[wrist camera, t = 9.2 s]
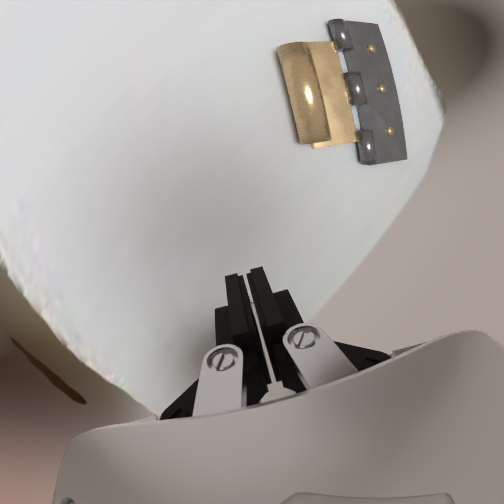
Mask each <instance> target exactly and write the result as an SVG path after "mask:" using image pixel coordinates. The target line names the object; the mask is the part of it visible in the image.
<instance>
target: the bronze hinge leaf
mask: <svg viewBox="0 0 504 504" xmlns="http://www.w3.org/2000/svg"><path fill="white" fill-rule="evenodd" d="M277 52H278V56H279V59H280V63H281V67H282V70H283V74H284V78H285V82H286V86H287V90H288V94H289V98H290V102H291V106H292V110H293V114H294V119H295V123H296V128H297V132H298V137H299V142H300V144H311V145H312V148H319V147H325V146H331V145H337V144H344V143H351V142H357V137H356V131H355V125H354V120H353V115H352V110H351V105H350V101H349V96H348V92H347V88H346V83H345V79H344V75H343V72H342V68H341V64H340V60H339V57H338V53H337V50H336V47H335V43H334V42H293V43H288V44H284V45H282V46H280V47H278V48H277Z"/></svg>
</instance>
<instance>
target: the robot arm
mask: <svg viewBox="0 0 504 504" xmlns="http://www.w3.org/2000/svg"><path fill="white" fill-rule="evenodd" d="M250 271H251V273H248V274H246V275H247V279H248V282H249V286H250V290H251V294H252V298H253V301H254V303H250V299H249V296H248V292H247V289H246V285H245V282H244V278H243V275H241V276H238V275H237V273H236V274H232V275H228V276H225V282H226V291H227V300H228V306H224V307H220V308H216V309H215V328H216V347H214V348H212V349H211V350H210V351H208V352H207V354H206V355H205V356H204V358H203V361H202V366H201V371H200V377H199V379H197V380H196V381H195V382H194V383H193V384H192V385H191V386H190V387H189V388H188V389H187V390H186V391H185V392H184V393H183V394H182V395H181V396H180V397H179V398H177V399H176V400H175V401H174V402H173V403H172V404H171V405H170V406H169V407H168V408H167V409H166V410H165V411H164V412H163V413H162V415H161V416H160V417H157V416H156V415H154V416H150V417H147V418H143V419H140V420H137V421H132V422H129V423H125V424H117V425H109V426H104V427H100V428H95V429H92V430H89V431H87V432H84V433H82V434H80V435H78V436H77V437H75V438H74V439H73V440H72V441H71V442H70V443H69V444H68V446H67V448H66V450H65V452H64V454H63V457H62V460H61V463H60V466H59V470H58V474H57V479H56V484H55V489H54V495H53V503H52V504H504V346H503V345H502V344H500V343H499V342H498V341H497V340H496V339H494V338H493V337H491V336H489V335H488V334H486V333H484V332H481V331H476V330H467V331H460V332H455V333H451V334H447V335H444V336H440V337H438V338H436V339H433V340H431V341H428V342H425V343H422V344H418V345H414V346H410V347H407V348H403V349H399V350H395V351H393V353H392V354H390V355H387V354H386V353H383V352H380V351H375V350H370V349H366V348H361V347H357V346H352V345H347V344H344V343H340V342H335V341H332V340H331V338H330V337H329V336H328V335H327V333H326V332H325V331H324V330H323V329H322V328H321V327H320V326H319V325H316V324H313V323H304V322H303V320H302V318H301V316H300V314H299V312H298V310H297V308H296V306H295V303H294V301H293V299H292V297H291V295H290V293H289V291H288V290H287V289H286V290H283V291H279V292H276V293H272V290H271V288H270V285H269V283H268V280H267V277H266V275H265V272H264V270H263V267H258V268H254V269H251V270H250Z"/></svg>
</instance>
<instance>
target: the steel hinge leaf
mask: <svg viewBox="0 0 504 504" xmlns="http://www.w3.org/2000/svg"><path fill="white" fill-rule="evenodd" d="M328 25H329V28H330V31H331V34H332V37H333V40H334V43H335V47H336V50H337V51H343V53H344V57H345V60H346V64H347V67H348V71H349V72H347V73H344V74H343V75H344V79H345V83H346V88H347V92H348V96H349V101H350V105H357V110H358V115H359V120H360V126H361V130H360V131H356V137H357V143H358V149H359V155H360V162H361V164H364V165H375V164H381V163H387V162H393V161H399V160H406V159H407V152H406V143H405V136H404V129H403V122H402V116H401V110H400V105H399V100H398V95H397V90H396V86H395V81H394V77H393V73H392V69H391V65H390V62H389V58H388V54H387V51H386V48H385V44H384V41H383V38H382V35H381V32H380V29H379V26H378V24H373V23H364V22H354V21H344V20H343V19H333V20H330V21H328Z"/></svg>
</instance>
